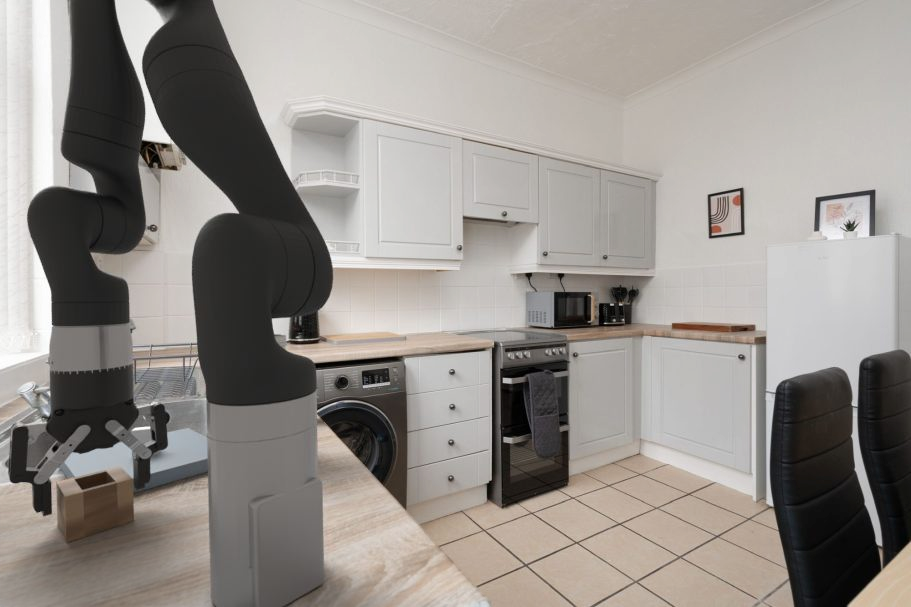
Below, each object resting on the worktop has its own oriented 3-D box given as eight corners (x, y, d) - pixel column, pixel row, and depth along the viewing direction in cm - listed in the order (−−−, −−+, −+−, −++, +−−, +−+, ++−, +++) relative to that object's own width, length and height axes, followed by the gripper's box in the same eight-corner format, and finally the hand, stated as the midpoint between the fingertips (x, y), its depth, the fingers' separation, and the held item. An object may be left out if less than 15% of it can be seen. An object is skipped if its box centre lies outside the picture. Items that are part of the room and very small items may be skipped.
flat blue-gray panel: (233, 464, 69) (232, 426, 69) (85, 506, 55) (84, 459, 55) (188, 438, 82) (187, 406, 82) (59, 468, 68) (58, 429, 68)
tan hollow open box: (133, 520, 52) (132, 478, 51) (66, 542, 47) (65, 496, 47) (121, 505, 55) (119, 466, 55) (57, 524, 51) (56, 481, 51)
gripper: (8, 375, 43) (12, 536, 44) (173, 359, 54) (175, 489, 54) (3, 367, 48) (7, 512, 49) (155, 353, 59) (157, 472, 59)
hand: (96, 499), depth 52 cm, fingers open, 8 cm apart
